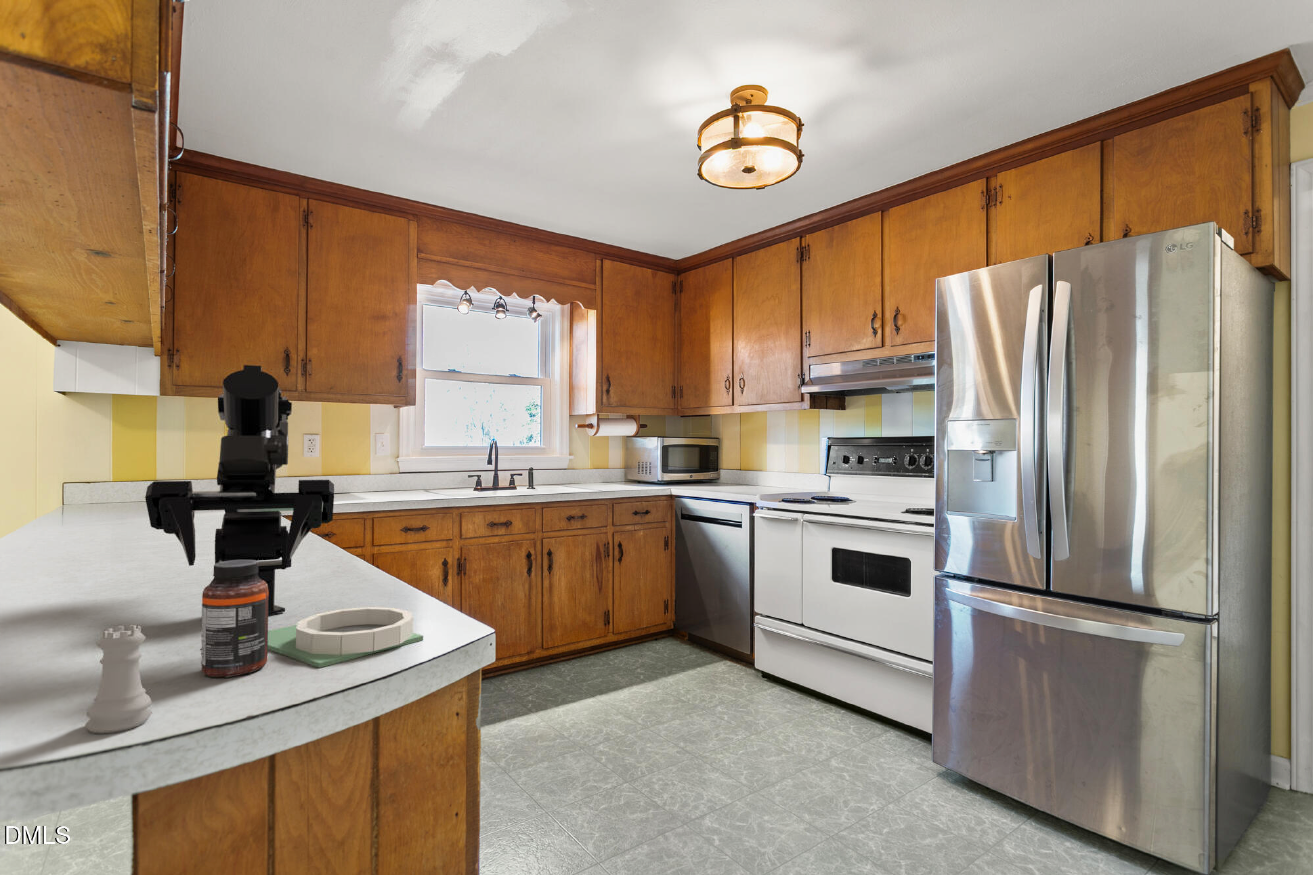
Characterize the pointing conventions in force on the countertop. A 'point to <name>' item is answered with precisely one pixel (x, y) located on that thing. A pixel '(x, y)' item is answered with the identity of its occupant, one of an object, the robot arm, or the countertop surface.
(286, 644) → the putting mat
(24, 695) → the countertop surface
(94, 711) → the rook chess piece
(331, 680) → the countertop surface
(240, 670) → the supplement bottle
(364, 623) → the round cream tray
